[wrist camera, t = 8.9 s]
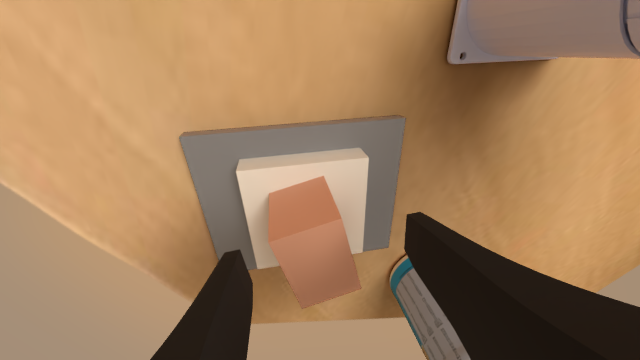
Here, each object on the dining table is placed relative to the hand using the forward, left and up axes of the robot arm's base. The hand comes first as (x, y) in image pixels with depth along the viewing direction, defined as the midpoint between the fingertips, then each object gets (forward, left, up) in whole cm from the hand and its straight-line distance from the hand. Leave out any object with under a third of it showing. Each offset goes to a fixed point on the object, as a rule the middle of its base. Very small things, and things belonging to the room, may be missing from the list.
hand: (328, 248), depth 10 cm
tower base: (0, +4, -10) cm, 11 cm away
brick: (0, +4, -7) cm, 8 cm away
